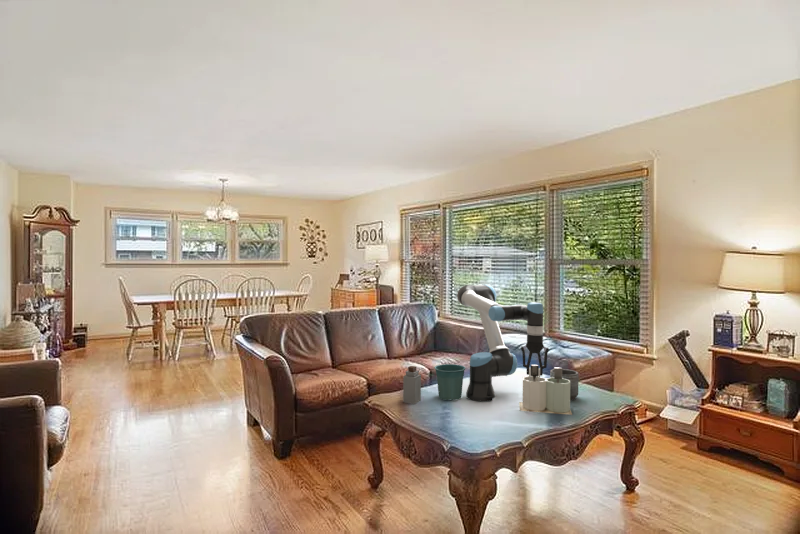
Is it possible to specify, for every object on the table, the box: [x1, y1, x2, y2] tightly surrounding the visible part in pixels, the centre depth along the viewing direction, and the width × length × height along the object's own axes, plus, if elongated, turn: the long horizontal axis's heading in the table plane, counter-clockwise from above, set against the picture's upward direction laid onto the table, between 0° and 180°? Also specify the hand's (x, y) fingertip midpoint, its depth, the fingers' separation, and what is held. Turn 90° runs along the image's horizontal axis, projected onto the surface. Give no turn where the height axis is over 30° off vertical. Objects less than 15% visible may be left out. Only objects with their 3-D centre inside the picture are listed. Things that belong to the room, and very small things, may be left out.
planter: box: [549, 368, 580, 402], centre depth 248 cm, size 14×14×15 cm
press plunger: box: [530, 364, 540, 382], centre depth 232 cm, size 8×8×15 cm
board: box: [518, 401, 573, 416], centre depth 231 cm, size 24×14×1 cm, turn 76°
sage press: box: [545, 366, 571, 413], centre depth 231 cm, size 11×14×20 cm
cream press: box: [522, 375, 546, 411], centre depth 233 cm, size 11×14×14 cm
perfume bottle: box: [402, 365, 422, 405], centre depth 244 cm, size 7×7×18 cm
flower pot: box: [434, 363, 466, 401], centre depth 251 cm, size 16×16×16 cm
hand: (534, 381), depth 232 cm, fingers closed on press plunger, 4 cm apart
